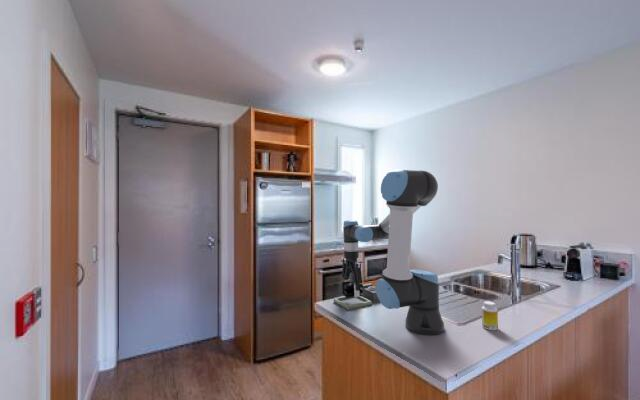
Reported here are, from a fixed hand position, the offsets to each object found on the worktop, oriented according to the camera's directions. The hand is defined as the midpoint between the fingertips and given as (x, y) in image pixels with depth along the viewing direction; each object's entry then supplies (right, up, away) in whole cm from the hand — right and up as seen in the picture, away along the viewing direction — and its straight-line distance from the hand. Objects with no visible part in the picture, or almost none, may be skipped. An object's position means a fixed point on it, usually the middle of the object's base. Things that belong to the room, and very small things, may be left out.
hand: (352, 294), depth 149 cm
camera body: (+12, -5, +8) cm, 15 cm away
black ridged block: (0, -1, 0) cm, 1 cm away
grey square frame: (0, -5, 0) cm, 5 cm away
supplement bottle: (+53, -4, -32) cm, 62 cm away
